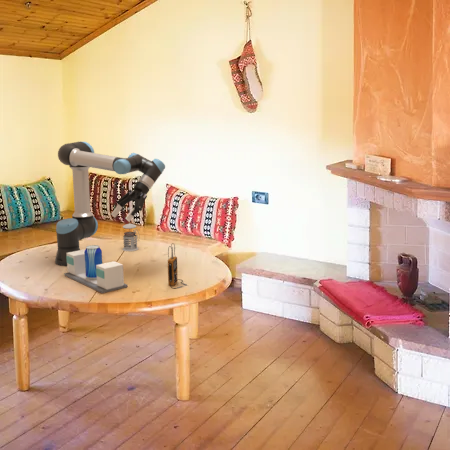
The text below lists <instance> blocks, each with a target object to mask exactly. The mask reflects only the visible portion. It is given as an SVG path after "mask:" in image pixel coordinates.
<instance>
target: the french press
mask: <svg viewBox="0 0 450 450" xmlns="http://www.w3.org/2000/svg"><path fill="white" fill-rule="evenodd" d="M126 209H127V210H128V211H131V210H132V208H131V207H127V208H126ZM122 228H123V229H125V230H131V229H133V231H126V232H123V235H122V237H123V239H122V240H123V248H122V249H121V250H122V251H124V252H135V251H138V250H139V249H140V248H139V247H138V241H140V238H139V235H138V234H140V233H139V231H138V229H137V225H136V224H134V223H131V221H130V222H129V221H128V223H126V224H124V225H122Z"/></svg>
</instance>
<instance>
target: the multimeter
mask: <svg viewBox="0 0 450 450" xmlns="http://www.w3.org/2000/svg"><path fill="white" fill-rule="evenodd" d="M170 245H171V246H170ZM170 245H169V246H168V250H167V255H168V256H167V257H168V259H167V280H168V281H167V282H168V283H167V285H168V286H170V288H171V289H180V288H182V287H185V286H188V287H189V285H188V284H187V283H184V280H183V279H179V278H178V256H176V253H175V252H176V244H173V243H171V244H170ZM173 245H174V249H173ZM170 249H171V256H169V255H170V252H169V251H170ZM178 281H181V284H182V285H181V286H177V287H174V286H175V285H176V284H177V283H178Z"/></svg>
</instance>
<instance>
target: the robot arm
mask: <svg viewBox="0 0 450 450" xmlns="http://www.w3.org/2000/svg"><path fill="white" fill-rule="evenodd" d="M57 158H58V160H59V161H60V163H62V164H63V165H65V166H69V168H70V169H71V170H72V183H73V184H72V186H73V204H74V212H73V214H72V216H71V217H68V218H64V219H61V220H59V221H58V222H56V229H55V231H56V233H55V234H56V241H57V242H56V244H57V251H56V255H55V258H54V260H55V264H56V265H57V264H58V265H57V266H63V267H64V266H65V267H66V266H67V259H66V256H67V254H66V253H68V252H73V251H78V250H81V248H80V241H82V240H83V239H88V238H90V237H92V236H94V235H95V234H96V233H97V231H98V228H99V224H98V220H97V219H96V218H95V216H94V214H93V212H92V211H91V199H90V197H91V196H90V195H91V194H90V178H89V176H90V175H89V169H90V168H93V169H99V170H104V171H110V172H115V173H116V174H117V175H126V174H129V173H133V172H140V173H142V174H141V176H140V177H139V179H138V180H137V182H135V185H134V186H133V188H134V189H133V190H131V189H129V190H128V191H127V192H126V194H124V195H123V196H121V198H119V199H118V200H116V203H117V205H116V207H115V208H114V210H113V211H112V212H111V214H110V215H111V216H112V217H113V218H116V217H117V216H118V215H119V213H120V212H121V211H122V209H123V207H124V206H125V205H126V204H129V203H130V202H133V201H134V206H133V207H132V208H131V210H129V212H128V214H127V215H126V216H125V220H126V221H127V222H128V223H129V222H130V223H131V221H132V219H133V218H134V216H135V215H136V214H137V212H141V211H142V210H143V207H144V204H145V201H146V199H147V198H148V195H147V194H148V193H149V191H150V189H152V187H153V186H154V184H156V182H157V180H158V179H160V176H161V175H162V174H163V172H164V170H165V169H166V165H165V163H164V162H163V161H162V160H160V159H158V158H154V159H153V160H149V159H148V158H146V157H144V156H143V155H140V154H139V153H135V152H132V153H130V154H129V155H128V157H118V156H113V155H108V154H101V153H96V152H95V150H94V147H93V146H92V144H90V143H89V142H87V141H76V142H70V143H69V142H68V143H64V144H63V145H61V146H60V147H59V149H58V151H57Z"/></svg>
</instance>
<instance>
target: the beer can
mask: <svg viewBox="0 0 450 450" xmlns="http://www.w3.org/2000/svg"><path fill="white" fill-rule="evenodd" d="M100 247H101V246H100V245H98V244H97V245H96V244H92V245H86V247H85V249H84V250H85V251H84V254H85V271H86V277H87V278H88V279H90V280H97V276H96V265H99V264H103V253H102V252H103V250H102V249H101V248H100Z"/></svg>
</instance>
